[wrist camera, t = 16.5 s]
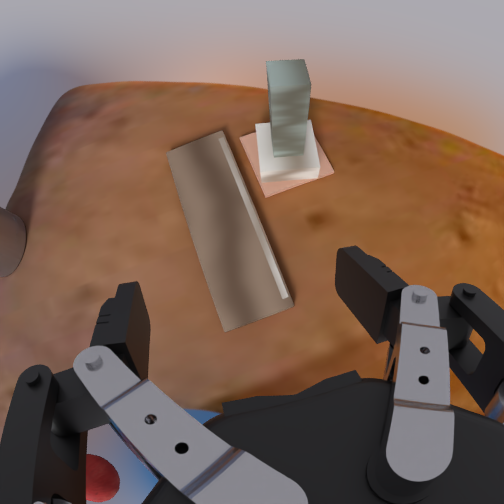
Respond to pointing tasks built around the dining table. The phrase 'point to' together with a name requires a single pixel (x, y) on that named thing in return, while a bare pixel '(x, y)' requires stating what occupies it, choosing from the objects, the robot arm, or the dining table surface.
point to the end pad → (280, 186)
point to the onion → (100, 479)
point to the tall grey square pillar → (287, 125)
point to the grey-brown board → (227, 233)
